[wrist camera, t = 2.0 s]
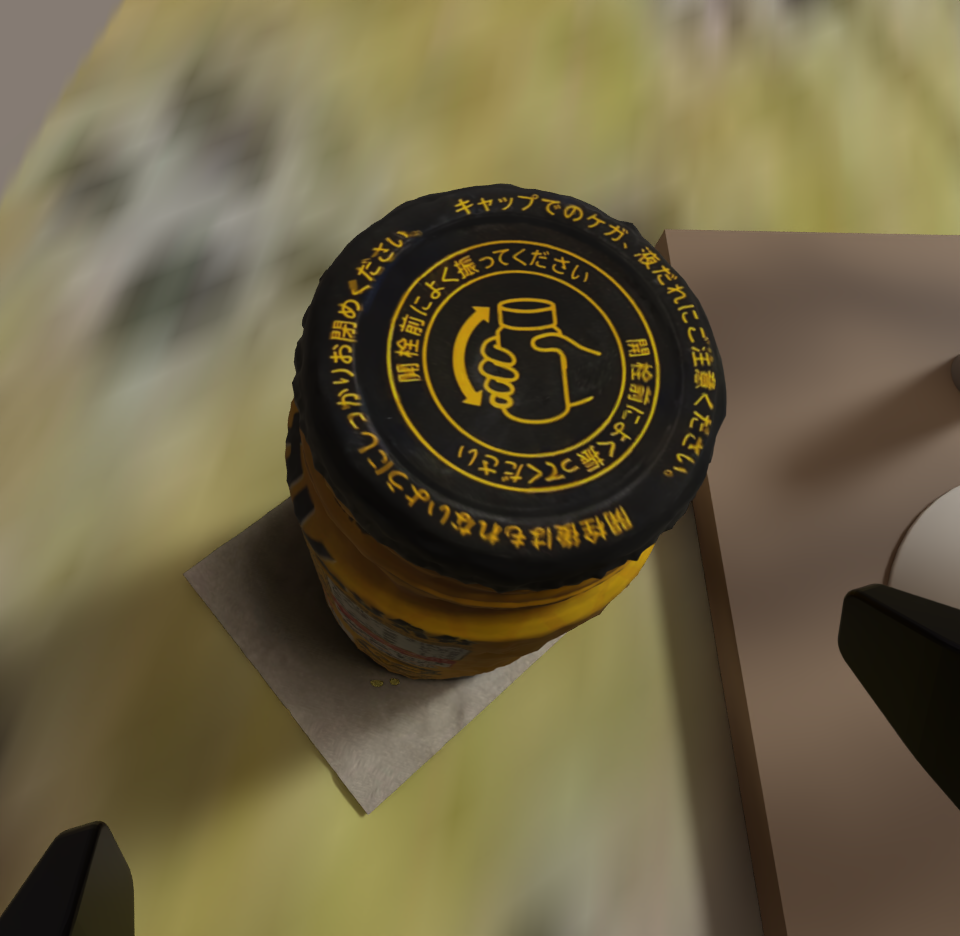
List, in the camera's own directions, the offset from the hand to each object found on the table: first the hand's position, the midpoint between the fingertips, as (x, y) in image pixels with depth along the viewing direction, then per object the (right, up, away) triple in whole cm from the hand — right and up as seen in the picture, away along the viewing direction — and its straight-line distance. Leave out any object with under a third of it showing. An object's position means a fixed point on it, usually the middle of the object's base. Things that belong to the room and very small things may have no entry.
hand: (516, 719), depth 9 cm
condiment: (-2, 0, +11) cm, 11 cm away
